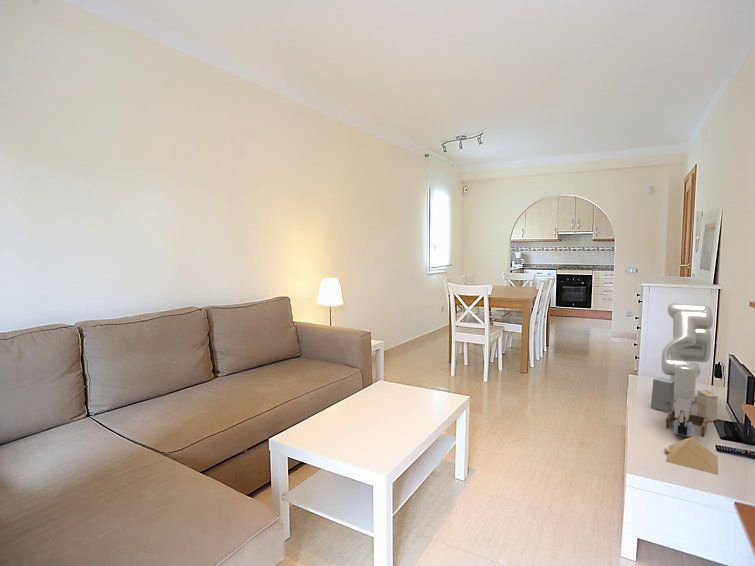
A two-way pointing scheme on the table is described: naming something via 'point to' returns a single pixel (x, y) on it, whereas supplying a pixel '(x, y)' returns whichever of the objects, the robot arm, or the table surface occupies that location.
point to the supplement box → (707, 405)
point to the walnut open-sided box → (693, 418)
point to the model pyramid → (692, 455)
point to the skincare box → (662, 394)
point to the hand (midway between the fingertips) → (683, 431)
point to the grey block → (689, 428)
